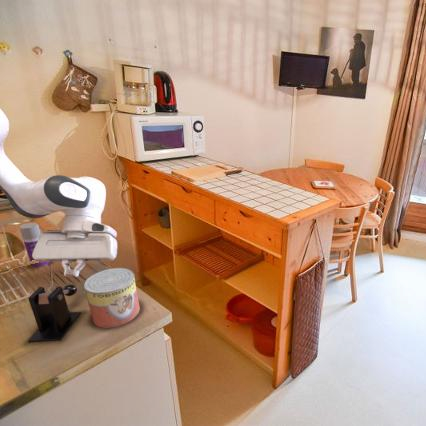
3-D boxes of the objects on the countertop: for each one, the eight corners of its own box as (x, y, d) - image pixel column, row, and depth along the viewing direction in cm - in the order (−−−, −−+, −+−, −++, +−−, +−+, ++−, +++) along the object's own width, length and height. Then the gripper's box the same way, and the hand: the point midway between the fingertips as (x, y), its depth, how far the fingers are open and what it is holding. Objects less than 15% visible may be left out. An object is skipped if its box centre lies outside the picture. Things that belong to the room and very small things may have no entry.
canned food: (105, 336, 82) (96, 298, 77) (85, 317, 87) (75, 281, 82) (148, 313, 90) (142, 278, 86) (127, 297, 96) (121, 263, 91)
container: (38, 270, 105) (25, 229, 99) (28, 266, 106) (15, 226, 100) (53, 263, 109) (41, 224, 103) (44, 260, 110) (32, 221, 104)
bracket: (53, 316, 86) (41, 280, 82) (81, 315, 88) (72, 279, 83) (29, 344, 77) (14, 306, 73) (61, 342, 79) (49, 304, 74)
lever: (66, 295, 89) (66, 283, 89) (79, 294, 90) (79, 283, 90) (35, 306, 77) (36, 292, 77) (50, 305, 78) (51, 292, 78)
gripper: (34, 226, 89) (20, 275, 84) (114, 226, 93) (105, 273, 88) (47, 233, 95) (35, 279, 89) (122, 232, 98) (115, 277, 93)
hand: (70, 276), depth 89 cm, fingers closed
